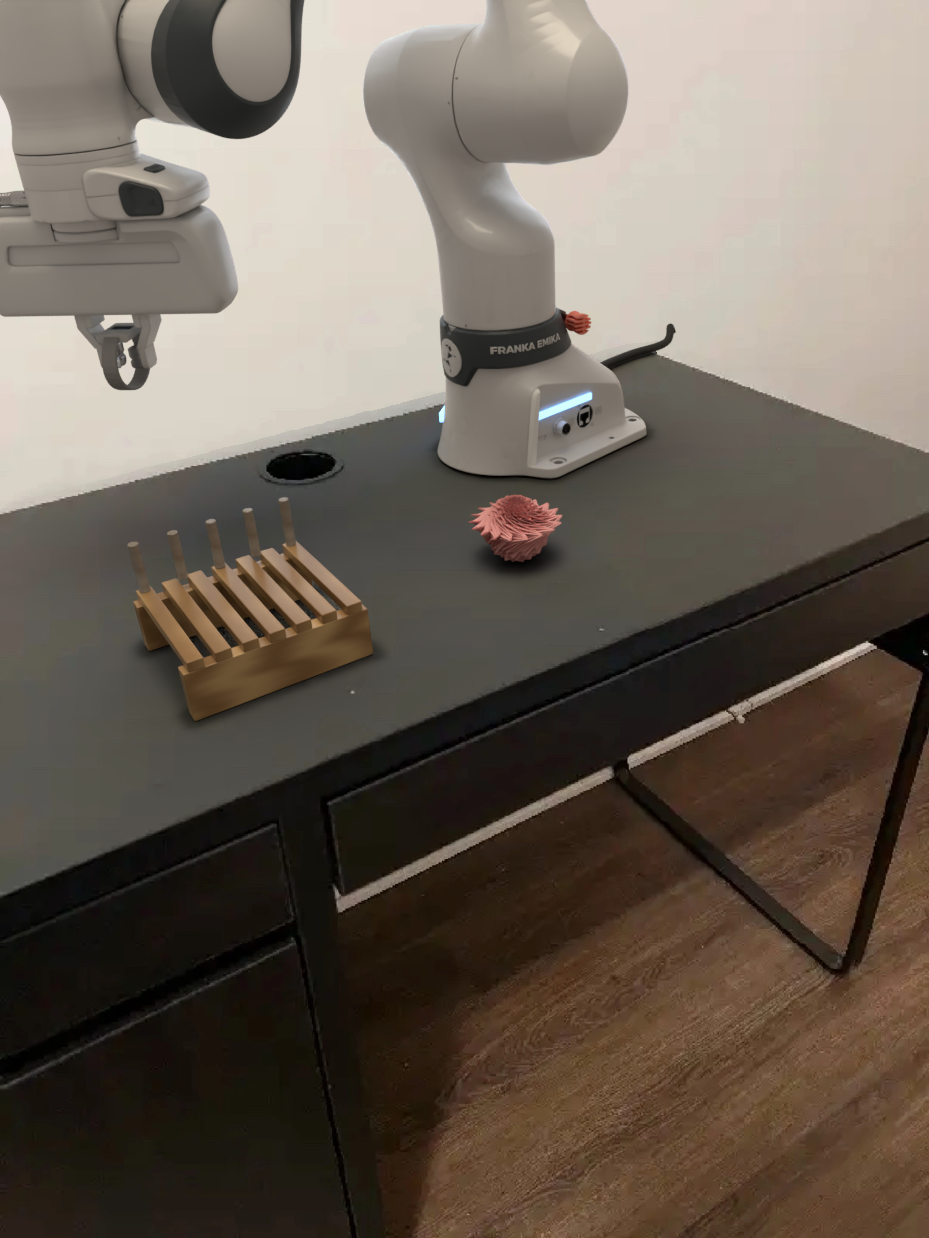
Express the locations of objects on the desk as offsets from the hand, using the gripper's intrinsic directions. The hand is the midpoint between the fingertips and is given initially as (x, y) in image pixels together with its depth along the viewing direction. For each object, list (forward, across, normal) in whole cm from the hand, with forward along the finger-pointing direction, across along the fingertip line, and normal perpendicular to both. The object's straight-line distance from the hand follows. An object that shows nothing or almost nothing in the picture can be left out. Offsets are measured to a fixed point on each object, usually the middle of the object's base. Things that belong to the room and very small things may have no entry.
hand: (130, 366), depth 85 cm
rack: (+17, +14, -16) cm, 27 cm away
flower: (+17, +32, 0) cm, 36 cm away
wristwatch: (+2, 0, 0) cm, 2 cm away
